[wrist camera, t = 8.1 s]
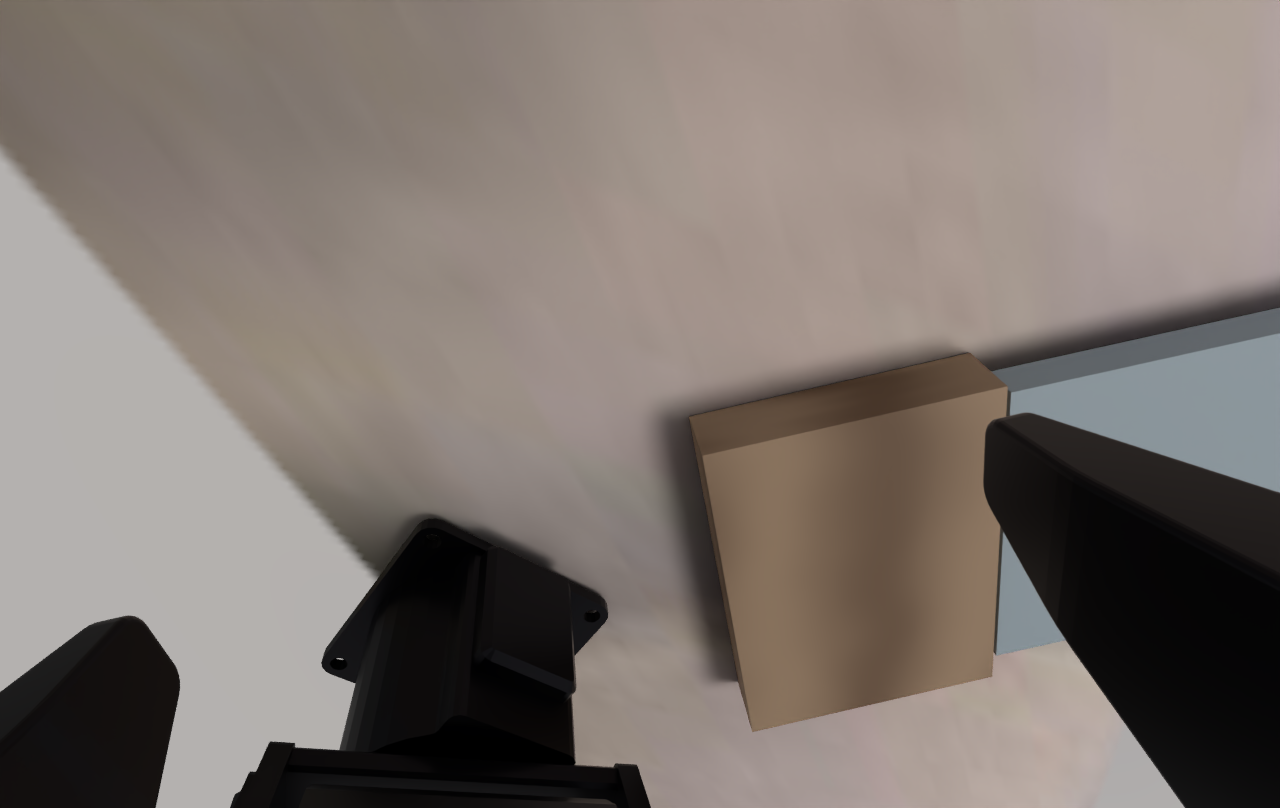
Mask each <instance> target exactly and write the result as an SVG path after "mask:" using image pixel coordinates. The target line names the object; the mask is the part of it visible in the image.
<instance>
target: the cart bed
mask: <svg viewBox="0 0 1280 808" xmlns="http://www.w3.org/2000/svg"><path fill="white" fill-rule="evenodd" d="M1007 391H1008V386H1007V385H1006V384H1005V383H1003V382H1002V381H1001V380H1000V379H999V378H998V377H997V376H996V375H994V374H993V373H992V372H991V371H990V370H989V369H988V368H987V367H985V366H984V365H983V364H982V363H981V362H980V361H979V360H978V359H976V358H975V357H974V356H973V355H972V354H971V353H967V354H962V355H958V356H954V357H949V358H945V359H940V360H936V361H932V362H927V363H923V364H918V365H914V366H910V367H905V368H901V369H896V370H892V371H888V372H883V373H879V374H874V375H870V376H866V377H861V378H857V379H852V380H848V381H844V382H839V383H835V384H830V385H826V386H822V387H817V388H813V389H808V390H804V391H800V392H795V393H791V394H786V395H782V396H778V397H773V398H769V399H764V400H760V401H755V402H751V403H747V404H742V405H738V406H733V407H729V408H725V409H720V410H716V411H711V412H707V413H703V414H698V415H694V416H689V420H690V426H691V431H692V436H693V442H694V447H695V452H696V458H697V463H698V469H699V474H700V479H701V485H702V490H703V495H704V501H705V506H706V511H707V517H708V522H709V528H710V533H711V538H712V544H713V549H714V554H715V560H716V565H717V571H718V576H719V581H720V587H721V592H722V597H723V603H724V608H725V614H726V619H727V624H728V630H729V635H730V640H731V646H732V651H733V657H734V662H735V667H736V673H737V678H738V683H739V687H740V690H741V694H742V697H743V701H744V704H745V708H746V711H747V715H748V718H749V722H750V725H751V729H752V732H754V731H759V730H763V729H767V728H772V727H776V726H780V725H785V724H789V723H793V722H798V721H802V720H806V719H811V718H815V717H819V716H824V715H828V714H832V713H837V712H841V711H845V710H850V709H854V708H858V707H862V706H867V705H871V704H875V703H880V702H884V701H888V700H893V699H897V698H901V697H906V696H910V695H914V694H919V693H923V692H927V691H932V690H936V689H940V688H945V687H949V686H953V685H958V684H962V683H966V682H971V681H975V680H979V679H983V678H988V677H992V669H993V650H994V632H995V613H996V595H997V576H998V558H999V539H1000V525H999V523H998V522H997V520H996V518H995V516H994V514H993V513H992V511H991V509H990V507H989V505H988V503H987V500H986V497H985V493H984V488H983V472H984V447H985V432H986V428H987V426H988V424H989V423H990V422H991V421H992V420H994V419H998V418H1002V417H1006V409H1007Z"/></svg>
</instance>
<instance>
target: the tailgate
mask: <svg viewBox="0 0 1280 808" xmlns="http://www.w3.org/2000/svg"><path fill="white" fill-rule="evenodd" d="M991 372H992V373H993V374H994V375H996V376H997V377H998V378H999V379H1000V380H1001V381H1002V382H1003V383H1005V384H1006V385H1007V386H1008V391H1007V409H1006V416H1011V415H1015V414H1020V413H1025V412H1029V413H1034V414H1037V415H1040V416H1043V417H1047V418H1050V419H1053V420H1056V421H1059V422H1062V423H1065V424H1068V425H1071V426H1074V427H1078V428H1081V429H1084V430H1087V431H1090V432H1093V433H1096V434H1099V435H1102V436H1106V437H1109V438H1112V439H1115V440H1118V441H1121V442H1124V443H1127V444H1130V445H1133V446H1137V447H1140V448H1143V449H1146V450H1149V451H1152V452H1155V453H1158V454H1161V455H1165V456H1168V457H1171V458H1174V459H1177V460H1180V461H1183V462H1186V463H1189V464H1193V465H1196V466H1199V467H1202V468H1205V469H1208V470H1211V471H1214V472H1217V473H1220V474H1224V475H1227V476H1230V477H1233V478H1236V479H1239V480H1242V481H1245V482H1248V483H1252V484H1255V485H1258V486H1261V487H1264V488H1267V489H1270V490H1273V491H1276V492H1280V308H1275V309H1271V310H1266V311H1262V312H1257V313H1253V314H1248V315H1244V316H1239V317H1235V318H1230V319H1226V320H1221V321H1217V322H1212V323H1208V324H1203V325H1199V326H1194V327H1189V328H1185V329H1180V330H1176V331H1171V332H1167V333H1162V334H1158V335H1153V336H1149V337H1144V338H1140V339H1135V340H1131V341H1126V342H1122V343H1117V344H1113V345H1108V346H1104V347H1099V348H1095V349H1090V350H1085V351H1081V352H1076V353H1072V354H1067V355H1063V356H1058V357H1054V358H1049V359H1045V360H1040V361H1036V362H1031V363H1027V364H1022V365H1018V366H1013V367H1009V368H1004V369H1000V370H995V371H991ZM1064 640H1065V638H1064V637H1063V635H1062V634H1061V632H1060V631H1059V629H1058V628H1057V626H1056V625H1055V623H1054V621H1053V620H1052V618H1051V616H1050V615H1049V613H1048V611H1047V609H1046V608H1045V606H1044V604H1043V603H1042V601H1041V599H1040V597H1039V595H1038V594H1037V592H1036V590H1035V588H1034V586H1033V585H1032V583H1031V581H1030V579H1029V577H1028V576H1027V574H1026V572H1025V570H1024V568H1023V567H1022V565H1021V563H1020V561H1019V559H1018V558H1017V556H1016V554H1015V552H1014V550H1013V549H1012V547H1011V545H1010V543H1009V541H1008V540H1007V538H1006V536H1005V534H1004V532H1003V531H1002V529H1001V527H1000V539H999V558H998V576H997V595H996V613H995V632H994V650H993V651H994V653H995V654H996V655H1001V654H1005V653H1010V652H1014V651H1019V650H1023V649H1028V648H1033V647H1037V646H1042V645H1046V644H1051V643H1055V642H1060V641H1064Z"/></svg>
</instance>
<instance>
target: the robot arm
mask: <svg viewBox="0 0 1280 808" xmlns="http://www.w3.org/2000/svg"><path fill="white" fill-rule="evenodd" d="M983 488H984V493H985V497H986V500H987V503H988V505H989V507H990V509H991V511H992V513H993V514H994V516H995V518H996V520H997V522H998V523H999V525H1000V527H1001V529H1002V531H1003V532H1004V534H1005V536H1006V538H1007V540H1008V541H1009V543H1010V545H1011V547H1012V549H1013V550H1014V552H1015V554H1016V556H1017V558H1018V559H1019V561H1020V563H1021V565H1022V567H1023V568H1024V570H1025V572H1026V574H1027V576H1028V577H1029V579H1030V581H1031V583H1032V585H1033V586H1034V588H1035V590H1036V592H1037V594H1038V595H1039V597H1040V599H1041V601H1042V603H1043V604H1044V606H1045V608H1046V609H1047V611H1048V613H1049V615H1050V616H1051V618H1052V620H1053V621H1054V623H1055V625H1056V626H1057V628H1058V629H1059V631H1060V632H1061V634H1062V635H1063V637H1064V638H1065V640H1066V641H1067V643H1068V644H1069V646H1070V647H1071V648H1072V650H1073V651H1074V653H1075V654H1076V655H1077V657H1078V658H1079V660H1080V661H1081V662H1082V664H1083V665H1084V667H1085V668H1086V670H1087V671H1088V672H1089V674H1090V675H1091V677H1092V678H1093V679H1094V681H1095V682H1096V684H1097V685H1098V686H1099V688H1100V689H1101V691H1102V692H1103V693H1104V695H1105V696H1106V698H1107V699H1108V700H1109V702H1110V703H1111V705H1112V706H1113V707H1114V709H1115V710H1116V712H1117V713H1118V714H1119V716H1120V717H1121V719H1122V720H1123V721H1124V723H1125V724H1126V726H1127V727H1128V728H1129V730H1130V731H1131V732H1132V734H1133V735H1134V737H1135V738H1136V740H1137V741H1138V742H1139V744H1140V745H1141V747H1142V748H1143V750H1144V751H1145V752H1146V754H1147V755H1148V757H1149V758H1150V759H1151V761H1152V762H1153V764H1154V765H1155V766H1156V768H1157V769H1158V770H1159V772H1160V773H1161V775H1162V776H1163V777H1164V779H1165V780H1166V782H1167V783H1168V785H1169V786H1170V787H1171V789H1172V790H1173V792H1174V793H1175V794H1176V796H1177V797H1178V799H1179V800H1180V802H1181V803H1182V804H1183V806H1184V807H1185V808H1280V492H1276V491H1273V490H1270V489H1267V488H1264V487H1261V486H1258V485H1255V484H1252V483H1248V482H1245V481H1242V480H1239V479H1236V478H1233V477H1230V476H1227V475H1224V474H1220V473H1217V472H1214V471H1211V470H1208V469H1205V468H1202V467H1199V466H1196V465H1193V464H1189V463H1186V462H1183V461H1180V460H1177V459H1174V458H1171V457H1168V456H1165V455H1161V454H1158V453H1155V452H1152V451H1149V450H1146V449H1143V448H1140V447H1137V446H1133V445H1130V444H1127V443H1124V442H1121V441H1118V440H1115V439H1112V438H1109V437H1106V436H1102V435H1099V434H1096V433H1093V432H1090V431H1087V430H1084V429H1081V428H1078V427H1074V426H1071V425H1068V424H1065V423H1062V422H1059V421H1056V420H1053V419H1050V418H1047V417H1043V416H1040V415H1037V414H1034V413H1029V412H1025V413H1020V414H1015V415H1011V416H1006V417H1002V418H998V419H994V420H992V421H991V422H990V423H989V424H988V426H987V428H986V432H985V447H984V472H983ZM431 534H433V535H437V536H438V537H439V539H436V540H431V539H428V538H427V537H426V536H427V535H431ZM589 610H596V612H594V613H587V611H589ZM607 618H608V609H607V603H606V601H605V599H603V598H602V597H601V596H598V595H596V594H594V593H592V592H590V591H588V590H586V589H584V588H582V587H580V586H578V585H576V584H573V583H571V582H569V581H568V580H567V579H566V578H564V577H562V576H560V575H558V574H556V573H554V572H551V571H549V570H547V569H545V568H543V567H541V566H539V565H537V564H535V563H533V562H531V561H529V560H526V559H524V558H522V557H520V556H518V555H516V554H514V553H512V552H510V551H508V550H506V549H504V548H502V547H496V546H494V545H492V544H490V543H488V542H486V541H484V540H482V539H480V538H478V537H475V536H473V535H471V534H469V533H467V532H465V531H463V530H461V529H459V528H457V527H455V526H452V525H450V524H448V523H446V522H444V521H442V520H438V519H427V520H424V521H422V522H421V523H420V524H419V525H418V526H417V527H416V528H415V530H414V531H413V532H412V534H411V535H410V536H409V538H408V539H407V540H406V542H405V543H404V544H403V546H402V547H401V548H400V550H399V551H398V552H397V554H396V555H395V556H394V558H393V559H392V560H391V562H390V563H389V564H388V566H387V567H386V569H385V570H384V571H383V573H382V574H381V575H380V577H379V578H378V579H377V581H376V582H375V583H374V585H373V586H372V587H371V589H370V590H369V591H368V593H367V594H366V595H365V597H364V598H363V599H362V601H361V602H360V603H359V605H358V606H357V608H356V609H355V610H354V611H353V613H352V614H351V615H350V617H349V618H348V620H347V621H346V622H345V624H344V625H343V626H342V628H341V629H340V630H339V632H338V633H337V634H336V636H335V637H334V638H333V640H332V641H331V642H330V644H329V645H328V646H327V648H326V650H325V652H324V656H323V659H322V662H321V663H322V667H323V669H324V670H325V671H326V672H328V673H330V674H332V675H334V676H337V677H340V678H342V679H345V680H348V681H350V682H353V683H356V684H355V689H354V693H353V697H352V701H351V705H350V709H349V713H348V717H347V721H346V725H345V730H344V733H343V737H342V742H341V745H340V750H327V749H311V748H295V743H285V742H270V743H269V744H268V747H267V749H266V751H265V753H264V756H263V758H262V760H261V762H260V764H259V767H258V769H257V771H256V772H250V773H249V774H248V776H247V779H246V781H245V783H244V785H243V788H242V790H241V791H240V792H238V793H236V794H235V796H234V798H233V801H232V804H231V807H230V808H651V806H650V803H649V800H648V797H647V794H646V791H645V788H644V785H643V782H642V779H641V776H640V772H639V769H638V766H637V765H633V764H617V763H616V764H615V765H614V767H601V766H585V765H574V764H575V763H576V762H575V744H574V725H573V707H572V694H573V693H574V692H575V691H576V674H575V657H574V656H575V655H576V654H577V653H578V651H579V650H580V649H581V648H582V647H583V646H584V645H585V644H586V643H587V642H588V640H589V639H590V638H591V637H592V636H593V635H594V634H595V633H596V632H597V631H598V630H599V628H600V627H601V626H602V625H603V624H604V623H605V622H606V620H607ZM336 658H343V659H344V660H339V659H336ZM179 691H180V679H179V674H178V671H177V669H176V666H175V665H174V663H173V662H172V660H171V659H170V658H169V656H168V655H167V654H166V652H165V651H164V649H163V648H162V646H161V645H160V644H159V642H158V641H157V639H156V638H155V636H154V635H153V633H152V632H151V631H150V629H149V628H148V626H147V625H146V624H145V623H144V622H143V621H142V620H141V619H139V618H137V617H135V616H123V617H119V618H114V619H110V620H106V621H101V622H97V623H94V624H92V625H89V626H88V627H86V628H84V629H83V630H82V631H80V632H79V633H78V634H76V635H75V636H74V637H73V638H71V639H70V640H69V641H67V642H66V643H65V644H63V645H62V646H61V647H59V648H58V649H57V650H55V651H54V652H53V653H51V654H50V655H49V656H47V657H46V658H45V659H43V660H42V661H41V662H39V663H38V664H37V665H35V666H34V667H33V668H31V669H30V670H29V671H28V672H26V673H25V674H24V675H22V676H21V677H20V678H18V679H17V680H16V681H14V682H13V683H12V684H10V685H9V686H8V687H6V688H5V689H4V690H2V691H1V692H0V808H155V807H156V802H157V798H158V793H159V789H160V783H161V779H162V774H163V769H164V764H165V759H166V755H167V750H168V745H169V740H170V735H171V731H172V726H173V721H174V716H175V712H176V707H177V701H178V697H179Z"/></svg>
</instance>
